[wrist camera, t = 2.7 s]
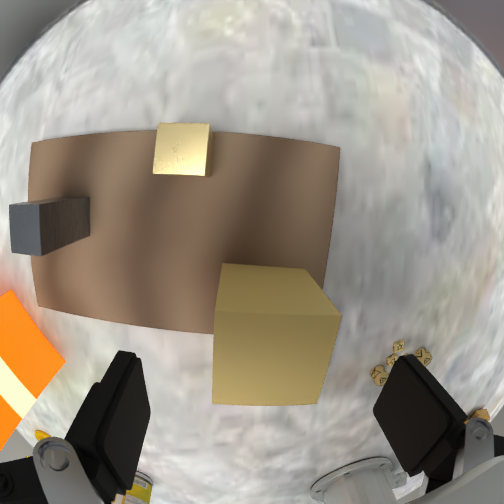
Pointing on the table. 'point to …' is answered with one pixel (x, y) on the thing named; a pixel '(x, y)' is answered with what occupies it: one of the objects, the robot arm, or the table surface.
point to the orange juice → (21, 364)
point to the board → (179, 223)
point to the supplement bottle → (137, 491)
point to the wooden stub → (183, 149)
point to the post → (48, 224)
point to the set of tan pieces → (381, 374)
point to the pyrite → (481, 415)
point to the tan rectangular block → (271, 336)
